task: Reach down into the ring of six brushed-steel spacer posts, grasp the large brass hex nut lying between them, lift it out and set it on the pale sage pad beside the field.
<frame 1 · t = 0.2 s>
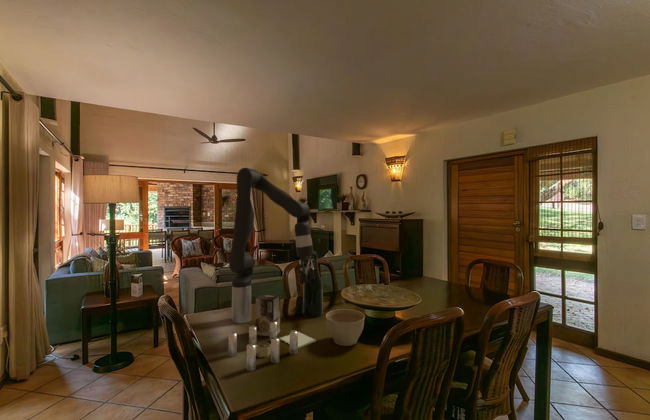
hand: (308, 280, 140), 22 cm above the table, tool pointing down, fingers open, 8 cm apart
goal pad: (297, 340, 128), on the table
coffee box: (268, 333, 136), on the table
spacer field: (263, 353, 116), on the table
brass nut: (263, 354, 116), on the table
beer bottle: (312, 314, 161), on the table
planter bowl: (345, 342, 127), on the table
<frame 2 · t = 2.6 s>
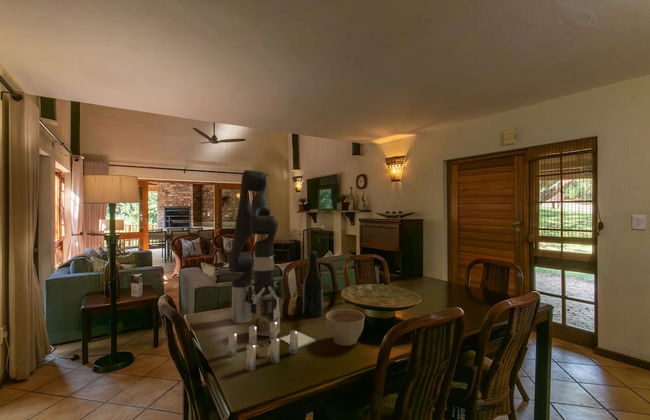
hand: (263, 311, 116), 16 cm above the table, tool pointing down, fingers open, 8 cm apart
nothing on the table moved.
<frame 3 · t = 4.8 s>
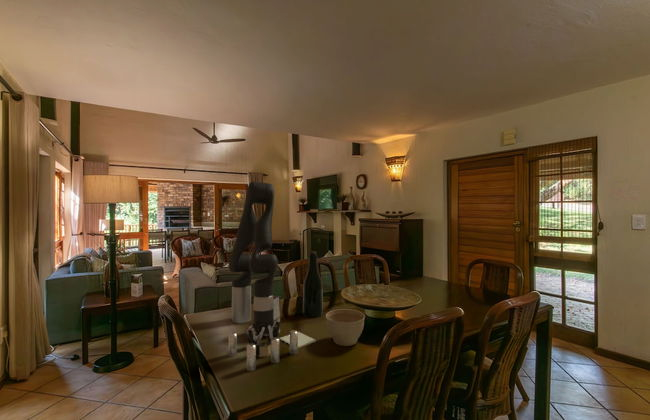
hand: (263, 352, 116), 1 cm above the table, tool pointing down, fingers closed on brass nut, 5 cm apart
brass nut: (263, 353, 116), on the table, touching gripper
everything else where it was.
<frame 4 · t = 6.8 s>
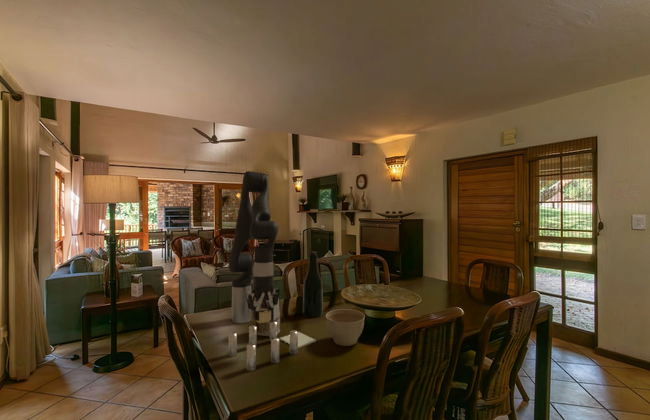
hand: (263, 318, 116), 13 cm above the table, tool pointing down, fingers closed on brass nut, 5 cm apart
brass nut: (263, 320, 116), point 13 cm above the table, touching gripper
everything else where it was.
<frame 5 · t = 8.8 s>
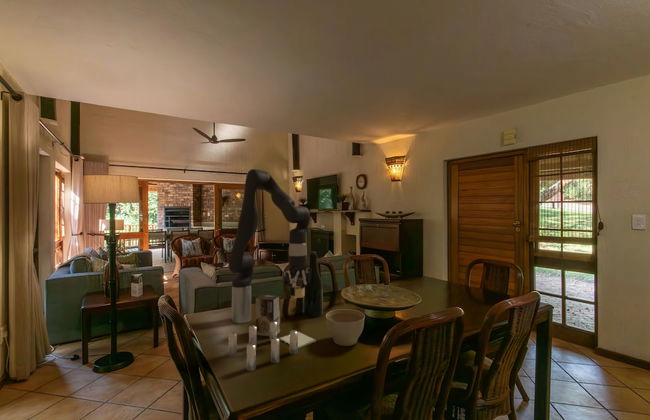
hand: (297, 294, 128), 19 cm above the table, tool pointing down, fingers closed on brass nut, 5 cm apart
brass nut: (297, 296, 128), point 18 cm above the table, touching gripper
everything else where it was.
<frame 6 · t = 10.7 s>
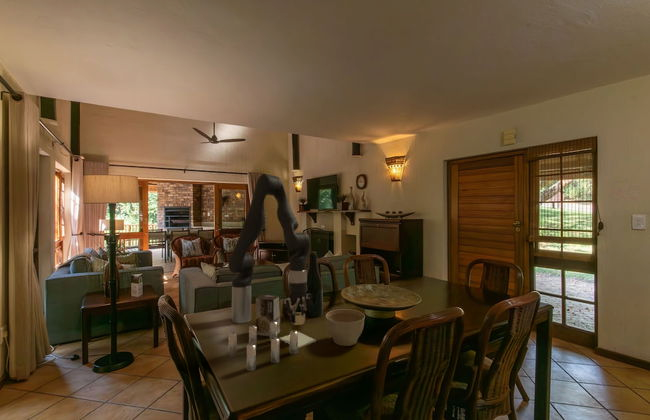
hand: (298, 321, 128), 8 cm above the table, tool pointing down, fingers closed on brass nut, 5 cm apart
brass nut: (298, 322, 128), point 7 cm above the table, touching gripper
everything else where it was.
when the fingers open (3 cm above the table, at t = 12.7 s): brass nut drops 1 cm, resting on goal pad.
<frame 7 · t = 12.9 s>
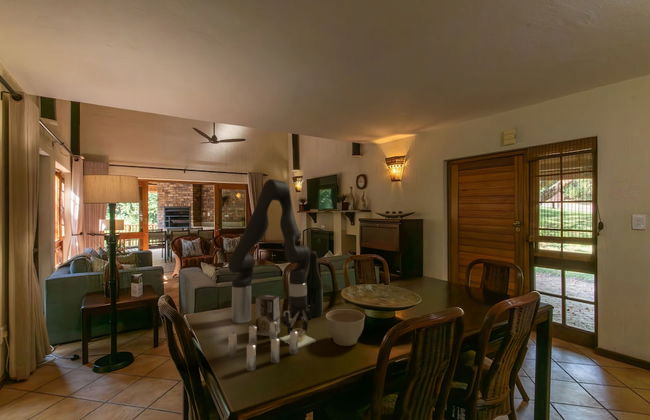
hand: (297, 333, 128), 3 cm above the table, tool pointing down, fingers open, 6 cm apart
brass nut: (297, 339, 128), point 1 cm above the table, touching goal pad
everything else where it was.
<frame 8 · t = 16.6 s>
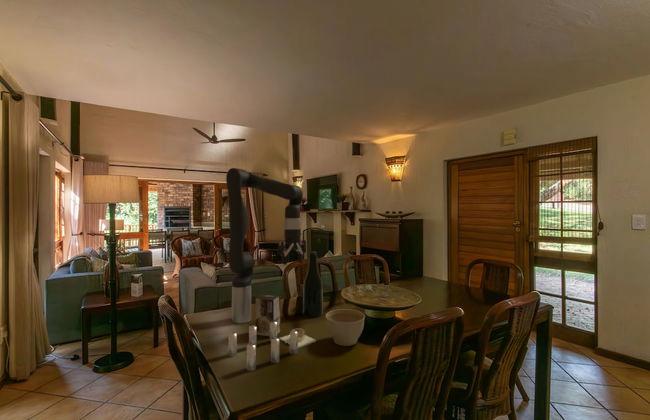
hand: (292, 263, 141), 30 cm above the table, tool pointing down, fingers open, 8 cm apart
nothing on the table moved.
at the end: brass nut inside the target area on the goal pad (0.1 cm from its centre), point 0.6 cm above the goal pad's base; brass nut moved 17.1 cm from its start; the gripper is holding nothing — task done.
